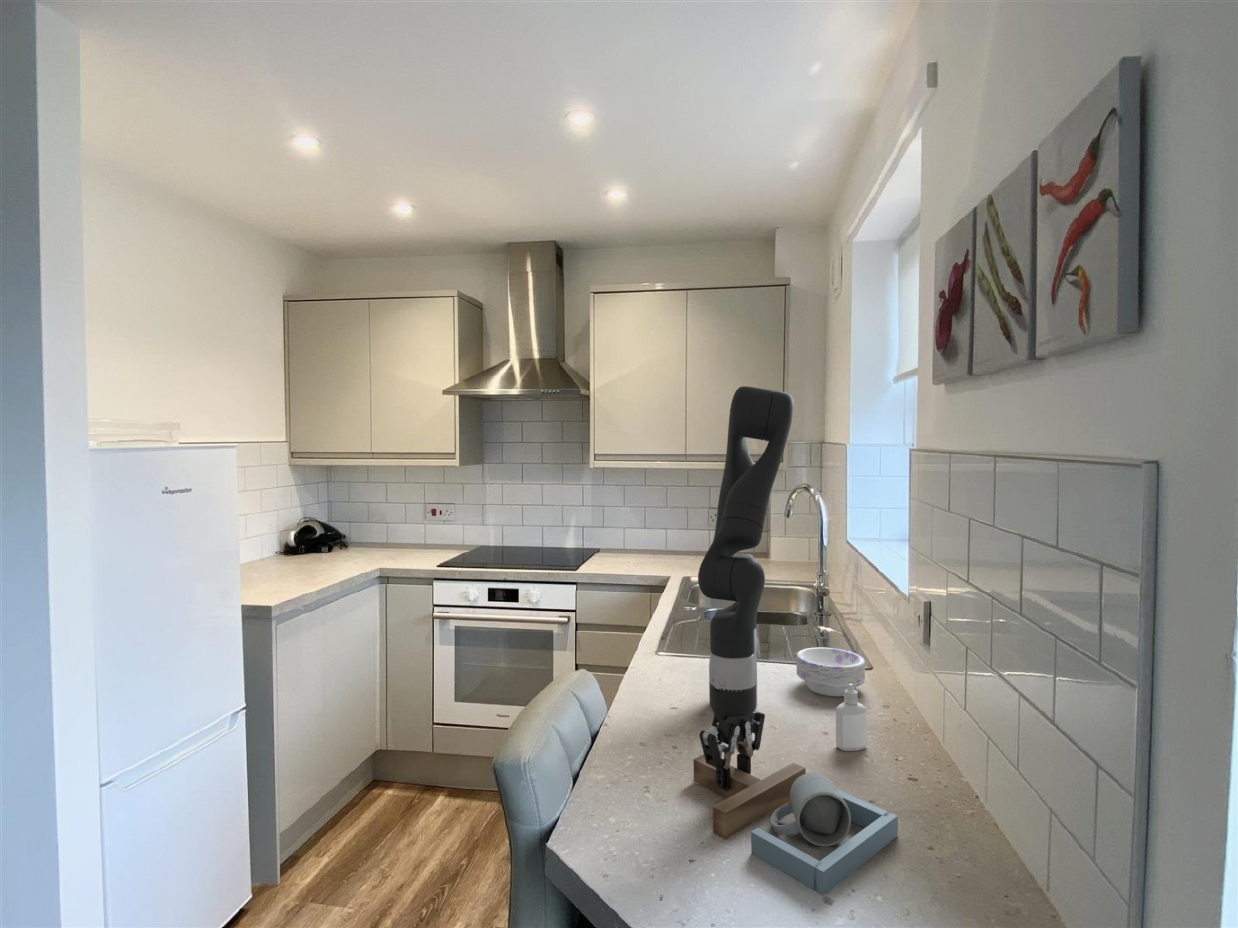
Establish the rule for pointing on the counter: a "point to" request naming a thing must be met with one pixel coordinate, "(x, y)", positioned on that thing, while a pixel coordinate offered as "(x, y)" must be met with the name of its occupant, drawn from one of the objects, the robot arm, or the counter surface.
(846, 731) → the eye dropper bottle
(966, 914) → the counter surface
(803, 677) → the paper bowls
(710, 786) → the scraper
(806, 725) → the counter surface
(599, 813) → the counter surface
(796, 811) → the ceramic mug
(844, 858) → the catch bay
